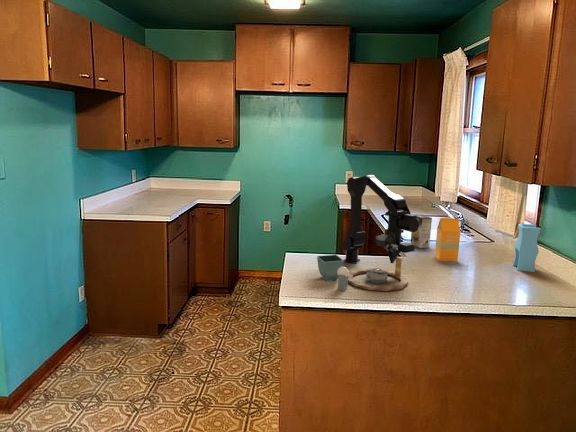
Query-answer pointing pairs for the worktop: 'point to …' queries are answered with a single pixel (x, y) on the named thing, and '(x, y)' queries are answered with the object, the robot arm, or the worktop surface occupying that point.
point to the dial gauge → (342, 278)
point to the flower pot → (329, 266)
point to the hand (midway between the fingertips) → (392, 263)
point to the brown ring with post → (381, 288)
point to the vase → (526, 247)
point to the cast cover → (376, 276)
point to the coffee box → (422, 232)
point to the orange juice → (447, 239)
